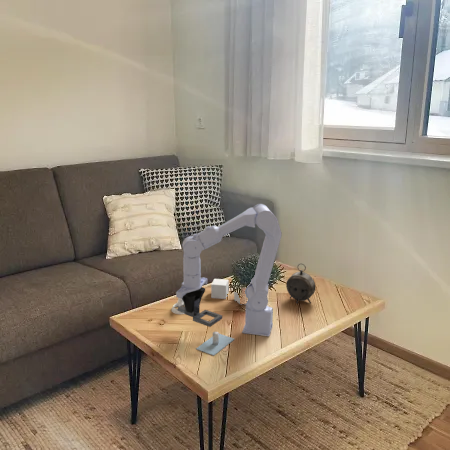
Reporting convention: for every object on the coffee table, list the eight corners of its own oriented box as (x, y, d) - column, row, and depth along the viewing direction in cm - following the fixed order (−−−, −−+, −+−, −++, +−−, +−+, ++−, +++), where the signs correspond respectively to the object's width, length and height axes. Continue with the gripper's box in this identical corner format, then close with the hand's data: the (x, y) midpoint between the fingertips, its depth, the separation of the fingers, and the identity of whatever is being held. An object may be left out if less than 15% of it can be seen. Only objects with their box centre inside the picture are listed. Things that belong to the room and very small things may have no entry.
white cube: (214, 292, 193) (214, 278, 191) (228, 293, 192) (228, 279, 190) (211, 298, 187) (211, 284, 186) (225, 299, 186) (226, 285, 185)
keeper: (196, 349, 151) (196, 337, 149) (217, 333, 160) (217, 322, 159) (213, 355, 147) (213, 344, 146) (234, 339, 156) (234, 328, 155)
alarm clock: (315, 302, 184) (317, 264, 179) (309, 307, 179) (312, 268, 175) (289, 296, 189) (291, 258, 185) (283, 301, 185) (285, 262, 180)
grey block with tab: (172, 313, 159) (172, 297, 157) (185, 305, 164) (185, 290, 162) (209, 327, 150) (210, 310, 149) (222, 318, 156) (222, 302, 154)
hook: (203, 302, 172) (187, 294, 169) (185, 323, 176) (169, 315, 174) (202, 290, 178) (187, 282, 176) (184, 310, 183) (169, 303, 180)
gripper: (195, 263, 162) (196, 299, 166) (168, 276, 150) (169, 315, 154) (212, 267, 158) (212, 304, 162) (185, 281, 147) (186, 320, 150)
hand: (192, 309), depth 158 cm, fingers closed on grey block with tab, 3 cm apart
